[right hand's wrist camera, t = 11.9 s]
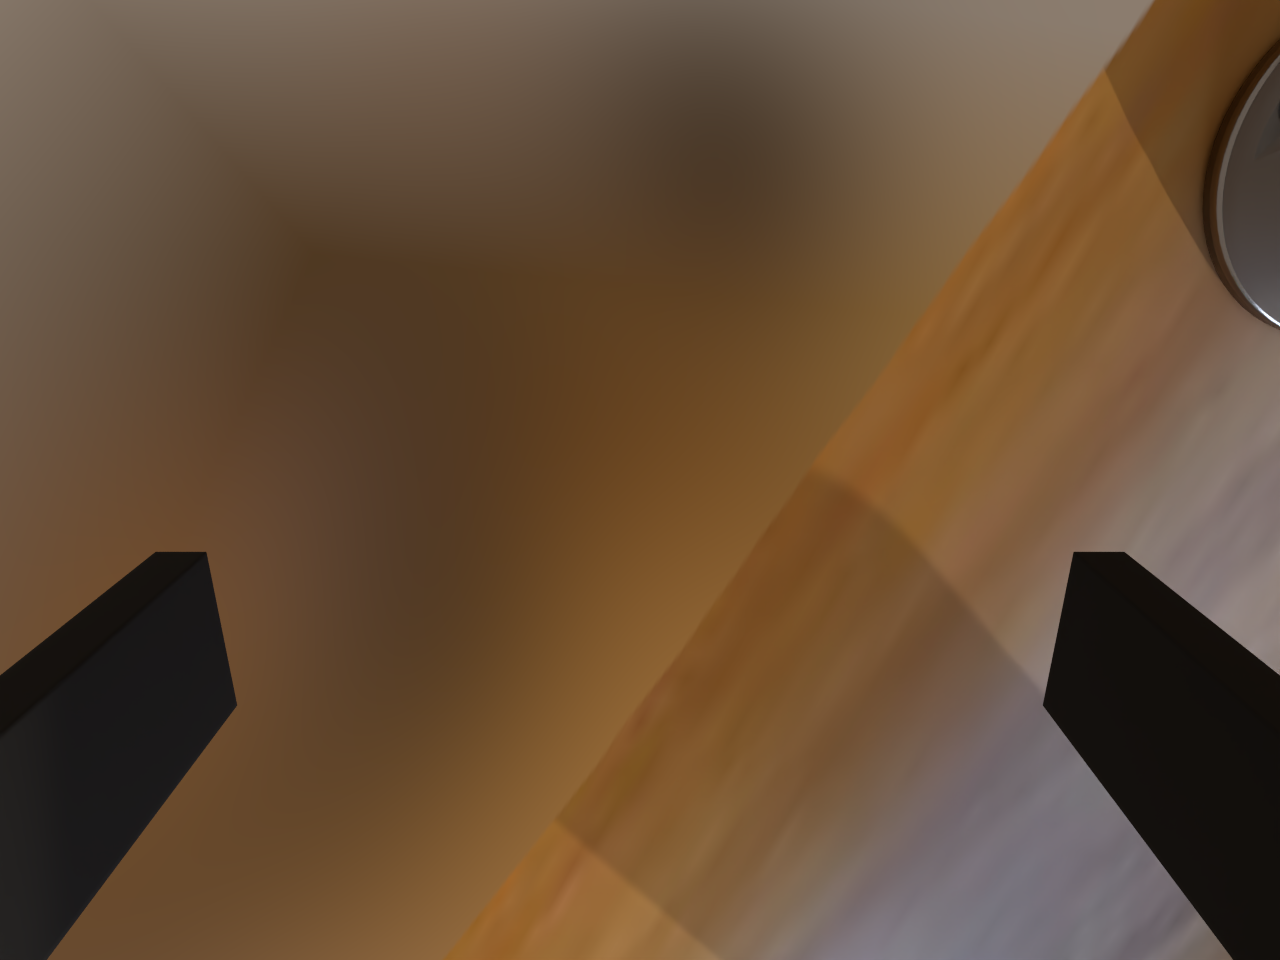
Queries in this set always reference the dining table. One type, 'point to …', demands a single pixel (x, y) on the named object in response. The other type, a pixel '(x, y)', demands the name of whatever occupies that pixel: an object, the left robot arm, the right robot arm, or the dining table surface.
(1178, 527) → the dining table surface
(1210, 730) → the right robot arm
